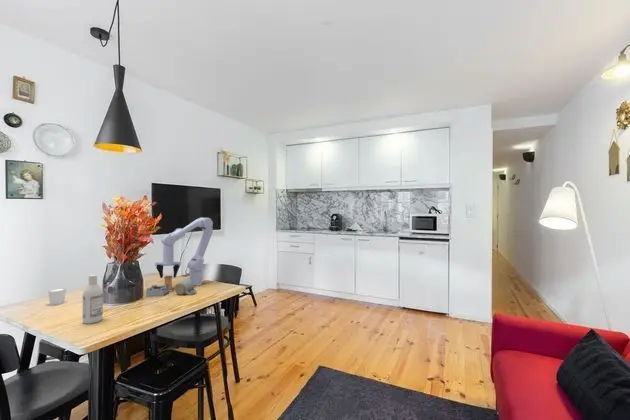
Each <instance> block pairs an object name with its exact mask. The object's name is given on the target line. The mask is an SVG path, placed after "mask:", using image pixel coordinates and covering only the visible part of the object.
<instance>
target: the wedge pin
mask: <svg viewBox="0 0 630 420" xmlns="http://www.w3.org/2000/svg"><path fill="white" fill-rule="evenodd" d="M172 278H173V275H165V276H163V279H164V285H168V286H169V291H171V290H172V289H173V288H172V286H173V285H172V284H173V283H172V281H173V279H172Z"/></svg>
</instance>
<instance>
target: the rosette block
mask: <svg viewBox="0 0 630 420" xmlns="http://www.w3.org/2000/svg"><path fill="white" fill-rule="evenodd" d="M169 292H170V290H169V286H168V285H165V284H163V285H157V284H152V285H151V287H147V288H146V290H145V297H164V296H165V295H166V294H167V293H169Z"/></svg>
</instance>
